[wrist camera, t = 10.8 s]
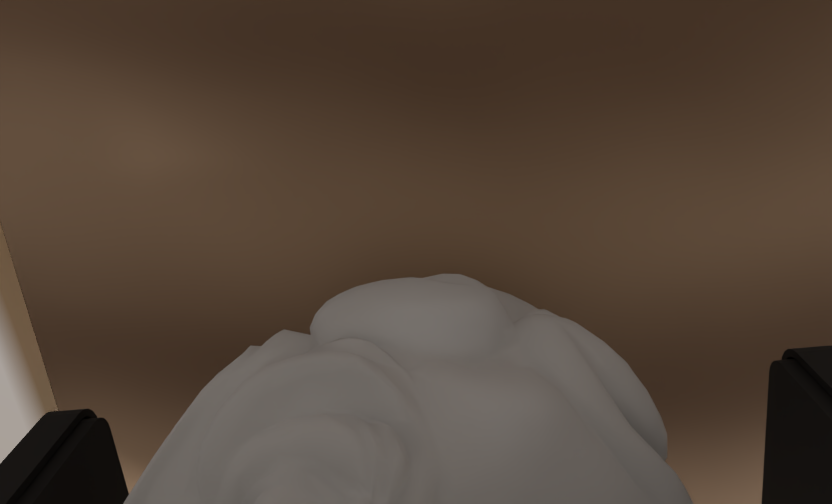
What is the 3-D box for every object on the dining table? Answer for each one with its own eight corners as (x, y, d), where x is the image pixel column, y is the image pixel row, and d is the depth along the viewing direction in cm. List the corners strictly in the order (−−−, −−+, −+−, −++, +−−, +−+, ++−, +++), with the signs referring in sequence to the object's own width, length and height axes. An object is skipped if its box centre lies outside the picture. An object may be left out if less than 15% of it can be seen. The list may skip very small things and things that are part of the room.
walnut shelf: (62, -156, 16) (-140, -230, 10) (732, -241, 15) (909, -371, 10) (237, 585, 23) (173, 785, 17) (708, 551, 22) (805, 749, 16)
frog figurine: (231, 181, 12) (0, 414, 6) (658, 223, 12) (914, 500, 6) (227, 491, 14) (53, 924, 8) (593, 524, 14) (726, 980, 8)
